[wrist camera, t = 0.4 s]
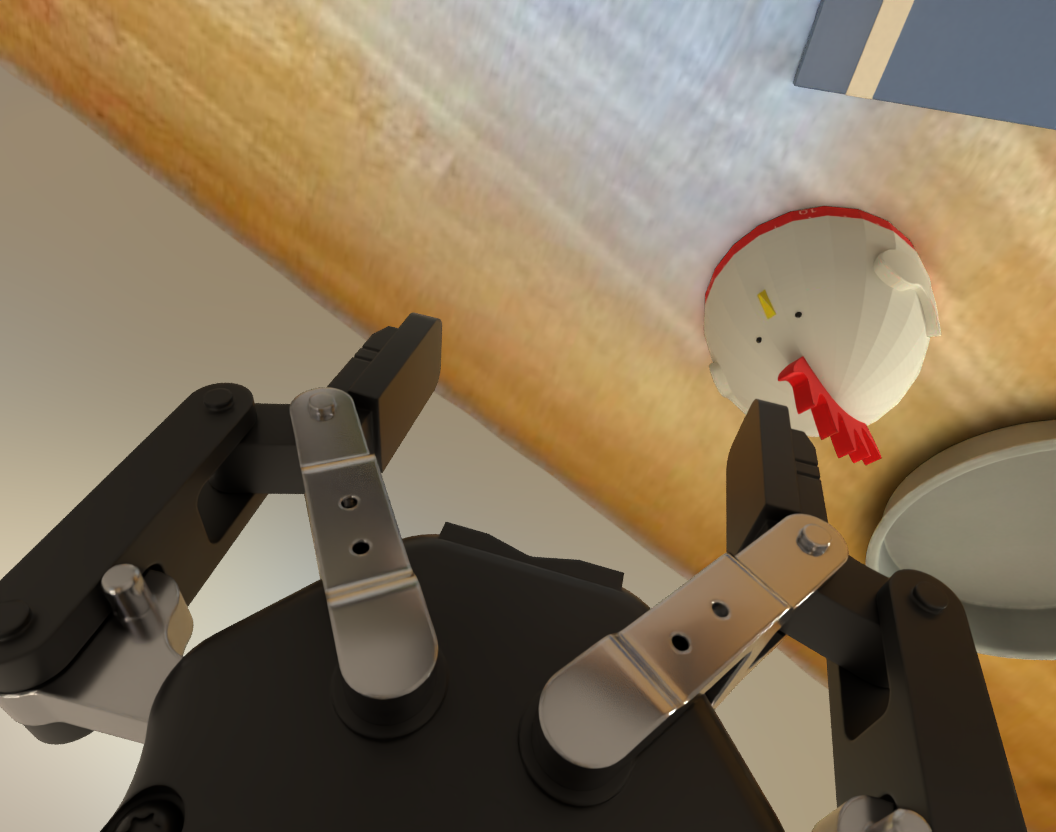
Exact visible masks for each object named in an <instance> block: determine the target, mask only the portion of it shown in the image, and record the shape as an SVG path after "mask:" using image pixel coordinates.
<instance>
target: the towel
mask: <svg viewBox="0 0 1056 832" xmlns="http://www.w3.org/2000/svg"><path fill="white" fill-rule="evenodd" d="M793 84H794V86H798V87H804V88H810V89H816V90H822V91H828V92H834V93H840V94H845V95H849V96H855V97H860V98H866V99H875V100H881V101H887V102H893V103H899V104H905V105H911V106H917V107H923V108H929V109H935V110H941V111H947V112H953V113H959V114H964V115H970V116H976V117H982V118H988V119H994V120H1000V121H1006V122H1012V123H1018V124H1024V125H1030V126H1036V127H1042V128H1048V129H1054V130H1056V0H822V1H821V4H820V7H819V9H818V12H817V15H816V18H815V21H814V24H813V27H812V29H811V32H810V35H809V38H808V41H807V44H806V47H805V50H804V52H803V55H802V58H801V61H800V64H799V67H798V70H797V73H796V75H795V78H794V81H793Z"/></svg>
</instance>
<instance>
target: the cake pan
mask: <svg viewBox="0 0 1056 832" xmlns="http://www.w3.org/2000/svg"><path fill="white" fill-rule="evenodd" d="M866 566H868V567H869V568H871V569H873V570H875V571H877V572H879V573H881V574H883V575H885V576H887V577H889V578H890V577H891V576H892V575H893V574H894V573H895V572H896V571H898V570H902V569H914V570H918V571H922V572H924V573H927V574H929V575H931V576H933V577H935V578H937V579H938V580H940V581H941V582H942V583H944V584H945V585H946V586H948V587H949V588H950V589H951V590H952V591H953V592H954V593H955V594H956V596H957V597H958V598H959V600H960V601H961V603H962V605H963V607H964V609H965V612H966V615H967V619H968V623H969V626H970V630H971V633H972V637H973V640H974V644H975V647H976V651H977V653H981V654H986V655H991V656H998V657H1006V658H1016V659H1031V660H1056V420H1046V421H1037V422H1031V423H1025V424H1019V425H1014V426H1009V427H1005V428H1001V429H997V430H994V431H990V432H987V433H984V434H981V435H978V436H975V437H972V438H970V439H967V440H965V441H962V442H960V443H958V444H956V445H953V446H951V447H949V448H947V449H946V450H944V451H942V452H940V453H938V454H936V455H935V456H933V457H932V458H930V459H929V460H927V461H926V462H924V463H923V464H921V465H920V466H919V467H918V468H916V469H915V470H914V471H913V472H912V473H910V474H909V475H908V476H907V477H906V478H905V479H904V480H903V481H902V482H901V483H900V485H899V486H898V487H897V488H896V490H895V491H894V493H893V494H892V496H891V497H890V499H889V501H888V503H887V505H886V507H885V510H884V513H883V517H882V520H881V521H880V522H879V524H878V526H877V527H876V529H875V531H874V533H873V535H872V537H871V539H870V542H869V545H868V549H867V553H866Z"/></svg>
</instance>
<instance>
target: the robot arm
mask: <svg viewBox="0 0 1056 832" xmlns="http://www.w3.org/2000/svg"><path fill="white" fill-rule="evenodd" d="M441 344H442V322H441V320H440V319H438V318H434V317H429V316H425V315H421V314H417V313H411V314H410V315H409V316H408V317H407V318H406V319H405V321H404V322H403V323H402V324H401V326H400V327H399V328H395V327H391V326H388V327H386V328H384V329H382V330H380V331H378V332H376V333H374V334H372V335H371V337H370V338H369V339H368V340H367V341H366V342H365V344H364V345H363V347H362V348H360V349H359V350H358V352H357V353H356V354H355V356H354V358H353V357H352V358H351V360H350V361H349V362H348V363H347V364H346V365H345V367H344V368H343V369H342V370H341V371H340V372H339V373H338V375H337V376H336V377H335V378H334V379H333V380H332V382H331V383H330V384H329V385H328V386H327V387H321V388H315V389H311V390H307V391H305V392H303V393H301V394H299V395H298V396H297V397H295V398H294V400H293V401H292V402H291V404H261V403H254V399H253V395H252V393H251V392H250V391H249V389H247V388H246V387H244V386H242V385H238V384H234V383H217V384H212V385H208V386H205V387H203V388H200V389H198V390H196V391H195V392H193V393H192V394H191V395H190V396H189V397H188V398H187V399H186V400H185V401H184V402H183V403H182V404H180V405H179V406H178V408H176V409H175V410H174V411H173V412H172V413H171V414H170V415H169V416H168V417H167V418H166V419H165V420H164V421H163V422H162V423H161V424H160V425H159V426H158V427H157V428H156V429H155V430H154V431H153V432H152V433H151V434H150V435H149V436H148V437H147V438H146V439H145V440H144V441H143V442H142V443H141V444H140V445H138V446H137V448H135V449H134V450H133V452H131V453H130V454H129V455H128V457H126V458H125V459H124V460H123V461H122V462H121V463H120V464H119V465H118V466H117V467H116V468H115V469H114V470H113V471H112V472H111V473H110V474H109V475H108V476H107V477H106V478H105V479H104V480H103V481H102V482H101V483H100V484H99V485H98V486H96V488H95V489H93V490H92V492H90V493H89V494H88V495H87V496H86V497H85V498H84V499H83V500H82V501H81V502H80V503H79V504H78V505H77V506H76V507H75V508H74V509H73V510H72V511H71V512H70V513H69V514H68V515H67V516H66V517H65V518H64V519H63V520H62V521H61V522H60V523H59V524H58V525H57V526H56V527H55V528H53V529H52V530H51V531H50V532H49V533H48V534H47V535H46V536H45V537H44V538H43V539H42V540H41V541H40V542H39V543H38V544H37V545H36V546H35V547H34V548H33V549H32V550H31V551H30V552H29V553H28V554H27V555H26V556H25V557H24V558H23V559H22V560H21V561H20V562H19V563H18V564H17V565H16V566H15V567H14V568H13V569H11V570H10V571H9V572H8V573H7V574H6V575H5V576H4V577H3V578H2V579H1V580H0V707H1V708H2V709H3V710H4V711H5V712H6V713H7V714H8V715H9V716H10V717H11V718H13V719H14V720H15V721H16V722H18V723H20V724H23V725H24V726H25V727H26V728H27V729H28V730H29V731H30V732H31V733H32V734H33V735H34V736H35V737H36V738H37V739H38V740H40V741H42V742H44V743H48V744H65V743H69V742H73V741H75V740H78V739H80V738H83V737H85V736H87V735H88V734H90V733H92V732H93V731H98V732H102V733H106V734H109V735H113V736H116V737H121V738H124V739H128V740H131V741H135V742H139V743H143V744H144V747H143V750H142V754H141V758H140V761H139V764H138V767H137V769H136V772H135V775H134V778H133V780H132V782H131V784H130V786H129V789H128V791H127V793H126V795H125V797H124V799H123V801H122V803H121V804H120V806H119V808H118V809H117V811H116V812H115V813H114V815H113V816H112V818H111V819H110V820H109V821H108V823H107V824H106V825H105V826H104V827H103V829H102V830H101V831H100V832H785V831H784V829H783V827H782V825H781V823H780V821H779V819H778V817H777V816H776V814H775V812H774V810H773V809H772V807H771V805H770V804H769V802H768V800H767V799H766V797H765V795H764V794H763V792H762V790H761V788H760V787H759V785H758V783H757V782H756V780H755V778H754V777H753V775H752V773H751V772H750V770H749V768H748V766H747V765H746V763H745V761H744V760H743V758H742V756H741V754H740V753H739V751H738V750H737V748H736V746H735V744H734V743H733V741H732V739H731V738H730V736H729V734H728V733H727V731H726V729H725V728H724V726H723V724H722V722H721V721H720V719H719V717H718V716H717V714H716V712H715V709H716V708H717V706H718V705H719V704H720V703H721V702H722V701H723V700H724V699H725V698H726V697H727V696H728V695H729V694H730V692H731V691H732V690H733V689H734V688H735V686H737V684H738V683H739V682H740V681H741V680H742V679H743V678H744V677H745V676H746V675H748V674H749V673H750V672H751V671H752V670H753V669H754V668H755V667H756V666H757V665H758V664H759V663H760V662H761V661H762V660H763V659H764V658H765V657H766V656H767V655H768V654H769V653H770V652H772V651H773V649H775V648H776V647H777V646H778V645H779V644H780V643H781V642H782V641H783V640H784V639H785V638H786V637H787V636H790V637H792V638H793V639H795V640H797V641H798V642H800V643H802V644H804V645H805V646H807V647H809V648H810V649H812V650H814V651H815V652H817V653H819V654H820V655H822V656H824V657H826V658H827V672H828V687H829V701H830V713H831V714H830V715H831V728H832V742H833V757H834V771H835V785H836V800H837V809H836V810H834V811H833V812H831V813H830V814H828V815H827V816H826V817H824V818H823V819H821V820H820V821H819V822H818V823H817V824H816V825H815V826H814V828H813V830H812V832H1027V829H1026V825H1025V822H1024V818H1023V815H1022V811H1021V808H1020V804H1019V800H1018V797H1017V793H1016V790H1015V786H1014V783H1013V779H1012V776H1011V772H1010V768H1009V765H1008V761H1007V758H1006V754H1005V751H1004V747H1003V744H1002V740H1001V736H1000V733H999V729H998V726H997V722H996V719H995V715H994V712H993V708H992V704H991V701H990V697H989V694H988V690H987V687H986V683H985V679H984V676H983V672H982V669H981V665H980V662H979V658H978V655H977V651H976V647H975V644H974V640H973V637H972V633H971V630H970V626H969V623H968V619H967V615H966V612H965V609H964V607H963V605H962V603H961V601H960V600H959V598H958V597H957V596H956V594H955V593H954V592H953V591H952V590H951V589H950V588H949V587H948V586H946V585H945V584H944V583H942V582H941V581H940V580H938V579H937V578H935V577H933V576H931V575H929V574H927V573H924V572H922V571H918V570H914V569H902V570H898V571H896V572H895V573H894V574H893V575H892V576H891V577H890V578H889V577H887V576H885V575H883V574H881V573H879V572H877V571H875V570H873V569H871V568H869V567H868V566H866V565H864V564H862V563H860V562H858V561H857V560H855V559H854V558H852V557H851V556H850V555H848V554H849V551H848V547H847V544H846V542H845V540H844V538H843V537H842V536H841V534H840V533H839V532H838V531H837V530H836V529H835V528H834V527H832V526H831V525H830V524H828V519H827V514H826V508H825V502H824V496H823V490H822V484H821V480H819V479H820V473H819V467H817V465H818V461H817V455H816V449H815V447H814V445H813V444H812V443H811V441H810V440H809V438H808V437H807V435H806V434H805V432H803V431H799V430H795V429H791V424H790V416H789V409H788V407H787V406H784V405H780V404H776V403H772V402H768V401H764V400H760V399H755V400H754V401H753V402H752V404H751V406H750V408H749V410H748V412H747V414H746V416H745V418H744V421H743V423H742V425H741V427H740V429H739V431H738V433H737V435H736V437H735V440H734V442H733V444H732V446H731V449H730V452H729V456H728V460H727V469H726V512H727V553H725V554H723V555H722V556H721V557H719V558H718V559H716V560H715V561H714V562H712V563H711V564H710V565H708V566H707V567H706V568H704V569H703V570H702V571H700V572H699V573H698V574H696V575H695V576H694V577H692V578H691V579H690V580H688V581H687V582H686V583H685V584H683V585H682V586H680V587H679V588H678V589H677V590H675V591H674V592H673V593H671V594H670V595H669V596H667V597H666V598H665V599H663V600H662V601H661V602H659V603H658V604H657V605H655V606H654V607H653V608H651V609H650V607H649V606H648V605H646V604H645V603H644V602H643V601H642V600H641V599H639V598H638V597H637V596H635V595H634V594H633V593H631V592H630V591H628V590H626V589H624V588H623V587H622V582H623V576H624V573H623V572H619V571H616V570H612V569H609V568H605V567H602V566H598V565H595V564H591V563H588V562H585V561H581V560H571V559H557V558H542V557H532V556H529V555H526V554H524V553H523V552H521V551H519V550H517V549H515V548H513V547H512V546H510V545H508V544H506V543H504V542H502V541H501V540H499V539H497V538H495V537H493V536H491V535H490V534H487V533H483V532H480V531H476V530H473V529H469V528H466V527H463V526H459V525H456V524H452V523H449V522H445V525H444V527H443V529H442V531H441V533H440V534H427V535H417V536H411V537H407V538H404V539H402V538H401V535H400V531H399V528H398V525H397V522H396V519H395V516H394V512H393V509H392V507H391V503H390V500H389V497H388V493H387V491H386V487H385V484H384V481H383V478H382V475H381V473H383V471H384V470H385V468H386V466H387V465H388V463H389V461H390V460H391V458H392V457H393V455H394V454H395V452H396V450H397V449H398V447H399V446H400V444H401V442H402V441H403V439H404V438H405V436H406V434H407V433H408V431H409V430H410V428H411V427H412V425H413V423H414V422H415V420H416V419H417V417H418V416H419V414H420V412H421V411H422V409H423V407H424V406H425V404H426V403H427V401H428V400H429V398H430V396H431V395H432V393H433V392H434V390H435V388H436V385H437V383H438V379H439V375H440V369H441ZM268 494H304V496H305V501H306V506H307V511H308V517H309V522H310V527H311V532H312V537H313V543H314V548H315V553H316V559H317V564H318V569H319V575H320V580H318V581H316V582H314V583H312V584H310V585H308V586H306V587H304V588H303V589H301V590H299V591H297V592H295V593H293V594H291V595H289V596H287V597H285V598H283V599H281V600H279V601H278V602H276V603H274V604H272V605H270V606H268V607H266V608H264V609H262V610H260V611H259V612H256V613H254V614H253V615H251V616H249V617H247V618H245V619H243V620H241V621H239V622H237V623H235V624H233V625H231V626H229V627H227V628H226V629H224V630H222V631H220V632H218V633H216V634H214V635H212V636H211V637H209V638H207V639H205V640H204V641H202V642H201V643H200V644H198V645H197V646H196V647H194V648H193V649H192V650H191V651H190V652H188V653H187V654H186V655H185V656H184V657H183V653H184V650H185V648H186V645H187V644H188V642H189V639H190V638H191V635H192V631H193V619H192V616H191V614H190V611H189V609H188V606H189V604H190V603H191V602H192V600H193V599H194V597H195V596H196V595H197V593H198V592H199V590H200V589H201V588H202V586H203V585H204V583H205V582H206V581H207V579H208V578H209V576H210V575H211V574H212V572H213V571H214V569H215V568H216V567H217V565H218V564H219V562H220V561H221V560H222V558H223V557H224V555H225V554H226V553H227V551H228V550H229V548H230V547H231V546H232V544H233V542H234V541H235V540H236V538H237V537H238V536H239V534H240V533H241V531H242V530H243V528H244V527H245V526H246V524H247V523H248V522H249V520H250V519H251V517H252V516H253V514H254V513H255V512H256V510H257V509H258V508H259V506H260V505H261V503H262V502H263V500H264V499H265V498H266V496H267V495H268Z"/></svg>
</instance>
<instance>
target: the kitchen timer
mask: <svg viewBox="0 0 1056 832" xmlns="http://www.w3.org/2000/svg"><path fill="white" fill-rule="evenodd" d="M704 335H705V338H706V341H707V345H708V348H709V352H710V355H711V358H712V361H713V363H711V364H710V365H709V368H710V372H711V375H712V378H713V380H714V383H715V385H716V387H717V389H718V391H719V392H720V394H721V395H722V396H723V397H726V398H728V399H729V400H731V401H732V402H733V403H734V404H735V405H736V406H737V407H738V408H739V409H740V410H741V411H742V412H743V413H744V414H745V415H746V414H747V412H748V410H749V408H750V406H751V404H752V402H753V401H754V400H755V399H760V400H764V401H768V402H772V403H776V404H780V405H784V406H787V407H788V409H789V416H790V424H791V429H795V430H799V431H803V432H805V434H806V435H807V436H811V437H820V438H821V440H823V439H825V438H827V437H829V436H830V437H831V440H832V443H833V446H834V449H835V451H836V454H837V456H838V458H841V457H843V456H845V455H847V454H849V456H850V458H851V460H852V462H853V463H856V462H858V461H860V460H863V462H864V464H865V465H868V464H870V463H872V462H874V461H877V460H879V459H881V458H882V457H881V455H880V452H879V450H878V448H877V446H876V444H875V441H874V439H873V437H872V435H871V433H870V431H869V429H868V427H867V425H869V424H871V423H873V422H875V421H877V420H878V419H879V418H881V417H882V416H883V415H884V414H886V413H887V412H888V411H889V410H891V409H892V408H893V407H894V406H896V405H897V404H898V403H899V402H900V400H901V399H902V398H903V396H904V395H905V394H906V392H907V391H908V389H909V388H910V387H911V385H912V384H913V382H914V381H915V379H916V378H917V377H918V375H919V373H920V370H921V367H922V364H923V361H924V358H925V354H926V351H927V348H928V345H929V340H930V337H933V336H940V335H941V329H940V323H939V317H938V312H937V306H936V302H935V298H934V295H933V291H932V288H931V281H930V278H929V275H928V273H927V271H926V270H925V268H924V266H923V264H922V262H921V260H920V258H919V256H918V254H917V252H916V250H915V248H914V247H913V245H912V243H911V242H910V240H909V239H908V238H906V237H905V236H904V235H903V234H902V233H901V232H900V231H898V230H897V229H896V228H895V227H894V226H893V225H892V224H890V223H889V222H888V221H886V220H884V219H881V218H879V217H876V216H874V215H871V214H869V213H866V212H864V211H861V210H859V209H851V208H840V207H829V206H822V207H816V208H810V209H804V210H798V211H792V212H789V213H786V214H784V215H782V216H779V217H777V218H775V219H772V220H770V221H768V222H766V223H763V224H761V225H759V226H757V227H756V228H755V229H754V230H752V231H751V232H750V233H748V234H747V235H746V236H744V237H743V238H742V239H741V240H739V241H738V242H737V243H735V244H734V245H733V246H732V247H731V249H730V250H729V251H728V253H727V254H726V255H725V256H724V258H723V259H722V260H721V262H720V263H719V264H718V266H717V267H716V268H715V270H714V273H713V276H712V278H711V281H710V283H709V286H708V289H707V291H706V294H705V313H704Z"/></svg>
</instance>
